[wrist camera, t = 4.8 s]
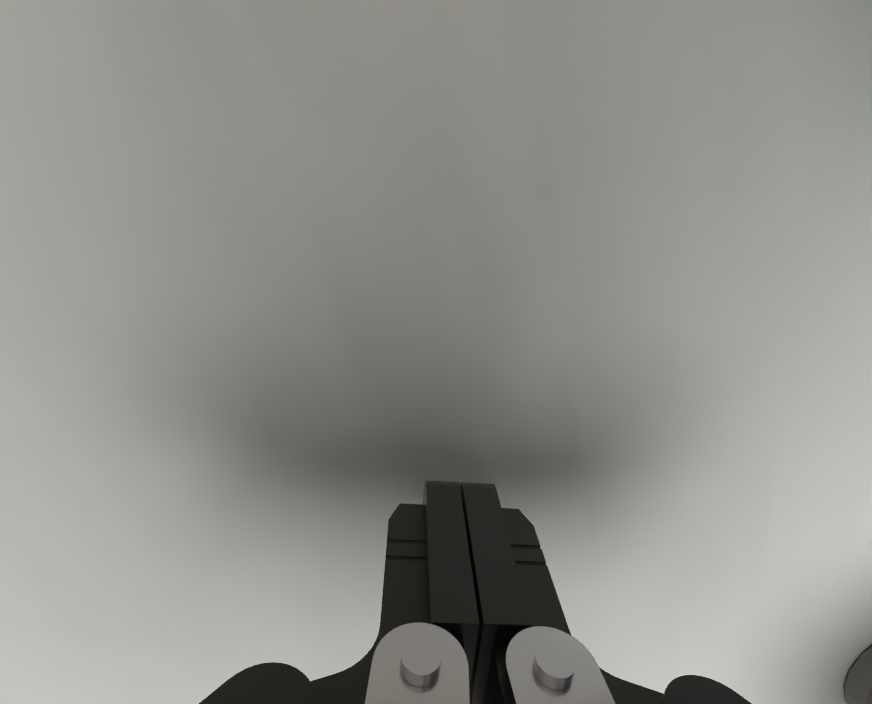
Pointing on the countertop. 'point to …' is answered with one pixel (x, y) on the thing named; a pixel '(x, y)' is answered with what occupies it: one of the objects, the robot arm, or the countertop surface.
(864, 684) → the beverage cup
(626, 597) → the countertop surface
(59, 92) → the countertop surface
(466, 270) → the countertop surface
